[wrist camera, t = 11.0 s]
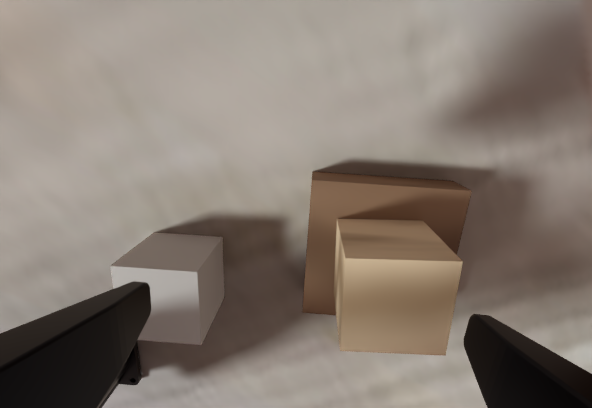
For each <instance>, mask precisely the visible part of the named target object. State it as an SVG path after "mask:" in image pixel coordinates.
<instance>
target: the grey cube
mask: <svg viewBox="0 0 592 408" xmlns="http://www.w3.org/2000/svg"><path fill="white" fill-rule="evenodd" d="M110 269H111V275H112V282H113V288H114V289H115V288H117V287H120V286H122V285H125V284H127V283H130V282H133V281H137V282H146V283H148V284H149V286H150V296H151V313H150V316H149V318H148V320H147V322H146V324H145V326H144V328H143V330H142V332H141V334H140V336H139V338H138V339H137V340H144V341H157V342H169V343H182V344H194V345H202V343H203V341H204V339H205V337H206V335H207V333H208V331H209V329H210V326H211V324H212V322H213V320H214V318H215V316H216V314H217V312H218V310H219V308H220V306H221V304H222V301H223V299H224V264H223V237H217V236H202V235H186V234H171V233H155V232H154V233H153V234H151V235H150V236H149V237H147V238H146V239H145V240H143V241H142V242H141V243H140V244H138V245H137V246H136V247H134V248H133V249H132V250H130V251H129V252H128V253H126V254H125V255H124V256H122V257H121V258H120V259H119V260H117V261H116V262H115V263H113V264H112V265H111V266H110Z"/></svg>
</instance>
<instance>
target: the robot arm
mask: <svg viewBox="0 0 592 408" xmlns="http://www.w3.org/2000/svg"><path fill="white" fill-rule="evenodd" d="M150 313H151V296H150V286H149V284H148V283H146V282H137V281H133V282H130V283H127V284H125V285H122V286H120V287H117V288H115V289H112V290H110V291H107V292H105V293H102V294H99V295H97V296H94V297H92V298H89V299H87V300H84V301H82V302H79V303H77V304H74V305H72V306H69V307H67V308H64V309H61V310H59V311H56V312H54V313H51V314H49V315H46V316H44V317H41V318H39V319H36V320H34V321H31V322H29V323H26V324H23V325H21V326H18V327H16V328H13V329H11V330H8V331H6V332H3V333H1V334H0V408H102V407H103V405H104V404H105V402H106V401H107V400H108V398H109V397H110V395H111V394H112V393H113V391H114V390H115V388H116V387H117V386H118V384H127V385H137V384H138V383H139V381H140V380H141V371H140V363H139V356H138V349H137V339H138V338H139V336H140V334H141V332H142V330H143V328H144V326H145V324H146V322H147V320H148V318H149V316H150ZM464 347H465V350H466V353H467V356H468V358H469V361H470V364H471V366H472V369H473V372H474V374H475V377H476V380H477V382H478V385H479V387H480V390H481V393H482V395H483V398H484V400H485V403H486V405H487V407H488V408H592V374H591V373H589V372H587V371H586V370H584V369H582V368H580V367H578V366H577V365H575V364H573V363H571V362H570V361H568V360H566V359H564V358H563V357H561V356H559V355H557V354H556V353H554V352H552V351H550V350H549V349H547V348H545V347H543V346H542V345H540V344H538V343H536V342H535V341H533V340H531V339H529V338H528V337H526V336H524V335H522V334H521V333H519V332H517V331H515V330H514V329H512V328H510V327H508V326H507V325H505V324H503V323H501V322H500V321H498V320H496V319H494V318H493V317H491V316H488V315H480V314H473V315H472V316H471V317H470V319H469V322H468V326H467V329H466V333H465V336H464Z"/></svg>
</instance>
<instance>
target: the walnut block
mask: <svg viewBox="0 0 592 408" xmlns="http://www.w3.org/2000/svg"><path fill="white" fill-rule="evenodd" d="M471 192H472V191H471V190H469V189H467V188H465V187H463V186H461V185H459V184H457V183H455V182H454V181H447V180H432V179H417V178H402V177H387V176H372V175H356V174H341V173H326V172H312V186H311V199H310V213H309V227H308V240H307V254H306V268H305V281H304V296H303V312H304V313H316V314H328V315H336V309H335V300H334V272H335V250H336V229H337V219H373V220H420V221H424V222H425V223H426V224H427V225H428V226H429V227H430V228H431V229H432V230H433V231H434V233H435V234H436V235H437V236H438V237H439V238H440V239H441V240H442V241H443V242H444V243H445V244H446V245H447V246H448V247H449V248H450V249H451V250H452V251H453V252H454V253H455V254H456V255H457V251H458V247H459V243H460V239H461V234H462V230H463V226H464V222H465V218H466V213H467V209H468V205H469V201H470V197H471Z"/></svg>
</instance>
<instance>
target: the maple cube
mask: <svg viewBox="0 0 592 408" xmlns="http://www.w3.org/2000/svg"><path fill="white" fill-rule="evenodd" d="M462 264H463V261H462V260H461V259H460V258H459V257H458V256H457V255H456V254H455V253H454V252H453V251H452V250H451V249H450V248H449V247H448V246H447V245H446V244H445V243H444V242H443V241H442V240H441V239H440V238H439V237H438V236H437V235H436V234H435V233H434V231H433V230H432V229H431V228H430V227H429V226H428V225H427V224H426V223H425V222H424V221H420V220H373V219H337V229H336V250H335V272H334V300H335V309H336V318H337V327H338V336H339V345H340V351H355V352H378V353H401V354H424V355H446V349H447V344H448V339H449V333H450V328H451V323H452V317H453V312H454V307H455V301H456V296H457V291H458V286H459V280H460V275H461V270H462Z"/></svg>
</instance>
